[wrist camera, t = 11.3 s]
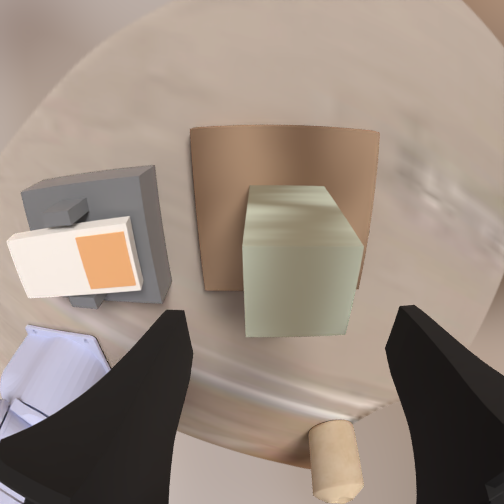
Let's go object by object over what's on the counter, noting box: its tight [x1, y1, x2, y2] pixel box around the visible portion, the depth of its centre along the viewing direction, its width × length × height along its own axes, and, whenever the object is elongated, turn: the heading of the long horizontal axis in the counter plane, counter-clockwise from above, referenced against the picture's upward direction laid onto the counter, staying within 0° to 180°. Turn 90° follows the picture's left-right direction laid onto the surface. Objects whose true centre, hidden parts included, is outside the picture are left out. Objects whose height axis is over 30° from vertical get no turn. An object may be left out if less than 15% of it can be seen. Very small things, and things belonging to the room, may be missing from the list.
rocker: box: [7, 216, 143, 298], centre depth 15 cm, size 8×4×1 cm, turn 91°
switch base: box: [21, 165, 172, 309], centre depth 16 cm, size 9×8×4 cm
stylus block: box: [242, 185, 364, 337], centre depth 13 cm, size 4×4×7 cm
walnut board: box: [190, 125, 380, 291], centre depth 17 cm, size 10×10×1 cm
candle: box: [309, 420, 364, 504], centre depth 26 cm, size 6×6×10 cm
